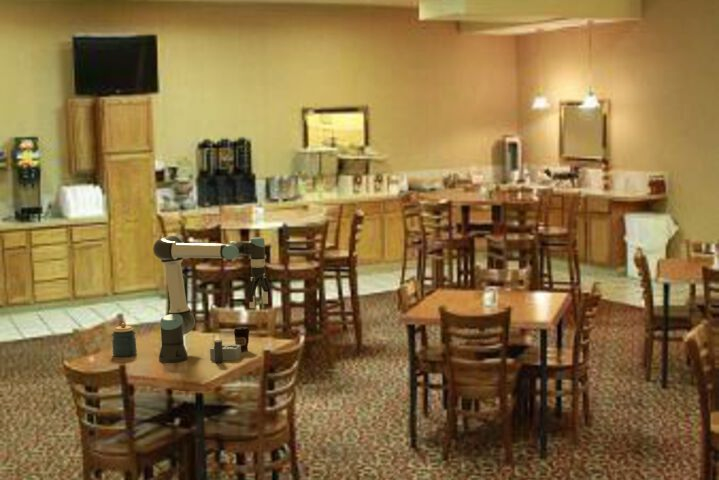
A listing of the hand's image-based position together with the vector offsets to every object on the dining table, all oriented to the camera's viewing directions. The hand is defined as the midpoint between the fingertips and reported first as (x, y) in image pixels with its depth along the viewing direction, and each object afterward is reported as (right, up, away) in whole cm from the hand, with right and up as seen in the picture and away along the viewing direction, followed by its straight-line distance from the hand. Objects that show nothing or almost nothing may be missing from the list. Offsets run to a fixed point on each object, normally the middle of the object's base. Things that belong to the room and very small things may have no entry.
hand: (258, 305), depth 538 cm
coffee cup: (-11, -26, +14) cm, 31 cm away
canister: (-75, -28, +13) cm, 81 cm away
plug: (-20, -29, -11) cm, 37 cm away
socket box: (-18, -28, -1) cm, 33 cm away
